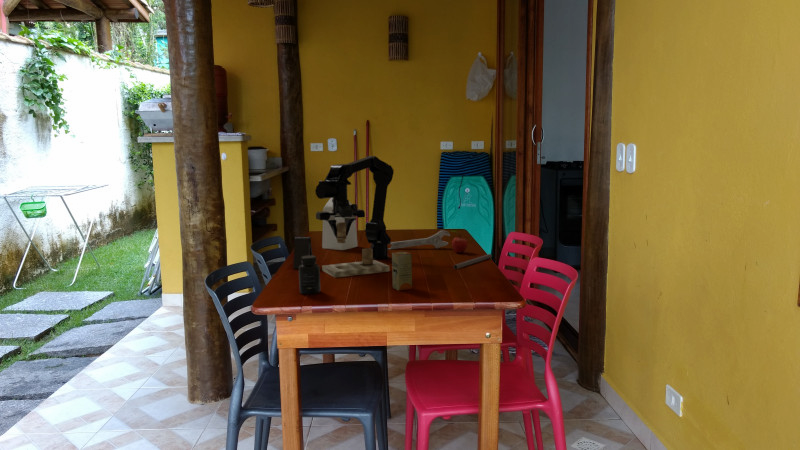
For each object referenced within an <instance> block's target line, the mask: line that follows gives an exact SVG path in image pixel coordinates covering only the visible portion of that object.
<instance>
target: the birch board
mask: <svg viewBox="0 0 800 450" xmlns="http://www.w3.org/2000/svg"><path fill="white" fill-rule="evenodd" d="M321 267H322V268H321V270H322V272H324V273H325V274H328V275H330V276H331V277H332V278H333V277H334V278H344V277H345V278H346V277H352V276H361V275H370V274H377V273H386V272H390V265H387V264H386V263H383V262H380V261H378V260H377V259H373V266H362V260H361V261H354V262H352V261H351V262H344V263H343V262H342V263H334V264H326V265H321Z"/></svg>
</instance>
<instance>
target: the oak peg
mask: <svg viewBox="0 0 800 450" xmlns="http://www.w3.org/2000/svg"><path fill="white" fill-rule="evenodd" d="M336 230H337V237H336V239H337V243H345V239H346V222H336Z"/></svg>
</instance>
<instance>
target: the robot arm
mask: <svg viewBox="0 0 800 450" xmlns="http://www.w3.org/2000/svg"><path fill="white" fill-rule="evenodd" d="M366 169H368V170H369V171H370V172H371V173H372V178H373V181H374V185H375V186H374V187H375V188H374V189H375V190H374V197H373V206H372V212H371V213H372V214H371V219H370V220H369V221H368V222H366V223H365V229H364V233H365V237H366V241H367V243H368V244H370V247H369V248H371V249H373V260H381V259H383V260H384V259H390V256H389V255H388V254H389V253H388V252H389V251H388V249H387V248H388V245H391V244H390V243H391V241H392V239H391V237H390V236H389V234H388V233H387V227H386V224H385V221H384V218H385V210H386V209H385V208H386V201H387V194H388V193H387V192H388V186H389V185H390V184H391V182H392V181H393V177H394V174H395V173H394V172H395V171H394V168H393V167H392V166H391V164H388V163H387V162H385V161H383V160H382V159H380V158H379V157H377V156H375V155H367V156H365V157H363V158H360V159H357V160H354V161H352V162H349V163H341V164H339V163H338V164H332V165H331V166H330V169H329V171H328V173H327V174H326V176H325V179H324V180H319V181H318V184H317V185H316V187H315V191H314V193H315V196H316V197H317V198H318V199H321V200H323V199H330V198H333V199H332V202H333V210H332V212H333V213H329V212H326V211H323V210H321V211H317V212H315V219H316V220H318V221H319V220H320V221H323V220H325V221H328V223H329V225H330V226H331V229H332V231H333V233H334V236H335V237H337V230H336V221H337V220H335V217H342V218H345V217H346V218H345V222H346V236H347V235H348V232H349V229H350V226H351V224H352V222H353V221H354V220H356V221H357V218H366V212H365V210H364V209H361V208H358V204H357V203H351V204H352V205H349V202H350V200H349V199H348V186H349V185H352V182H351V181H349V178H351V177H352V176H353V174H355V173H357V172H361V171H363V170H366ZM347 199H348V200H347ZM338 213H339V214H338Z"/></svg>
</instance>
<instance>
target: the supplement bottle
mask: <svg viewBox="0 0 800 450" xmlns="http://www.w3.org/2000/svg"><path fill="white" fill-rule="evenodd" d="M301 263H302V265H300V266H299V269H298V280H299V281H298V282H299V283H298V284H299V285H298V286H299V293H300V294H302V295H309V296H310V295H316V294H319V293H320V292H321V269H320V265H318V263H317V256H316V255H313V256H303V257H301Z"/></svg>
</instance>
